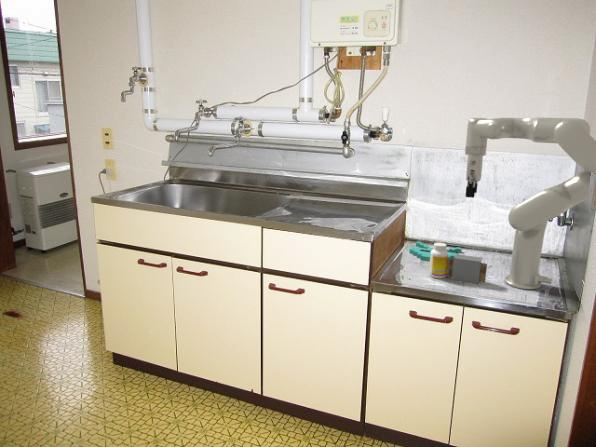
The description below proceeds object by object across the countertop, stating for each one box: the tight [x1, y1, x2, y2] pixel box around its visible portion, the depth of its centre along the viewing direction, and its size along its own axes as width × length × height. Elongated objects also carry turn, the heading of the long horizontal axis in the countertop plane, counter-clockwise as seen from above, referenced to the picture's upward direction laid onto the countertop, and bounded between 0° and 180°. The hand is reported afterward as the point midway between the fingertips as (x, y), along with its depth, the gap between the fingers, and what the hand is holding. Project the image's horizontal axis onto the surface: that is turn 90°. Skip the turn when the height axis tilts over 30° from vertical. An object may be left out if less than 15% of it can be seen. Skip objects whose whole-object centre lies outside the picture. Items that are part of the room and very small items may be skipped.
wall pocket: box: [451, 253, 483, 285], centre depth 184 cm, size 10×5×9 cm, turn 65°
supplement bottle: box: [428, 242, 448, 279], centre depth 187 cm, size 7×7×13 cm
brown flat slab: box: [445, 258, 488, 283], centre depth 184 cm, size 14×1×7 cm, turn 65°
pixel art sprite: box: [409, 241, 462, 262], centre depth 214 cm, size 20×2×20 cm
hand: (471, 194), depth 190 cm, fingers open, 9 cm apart
